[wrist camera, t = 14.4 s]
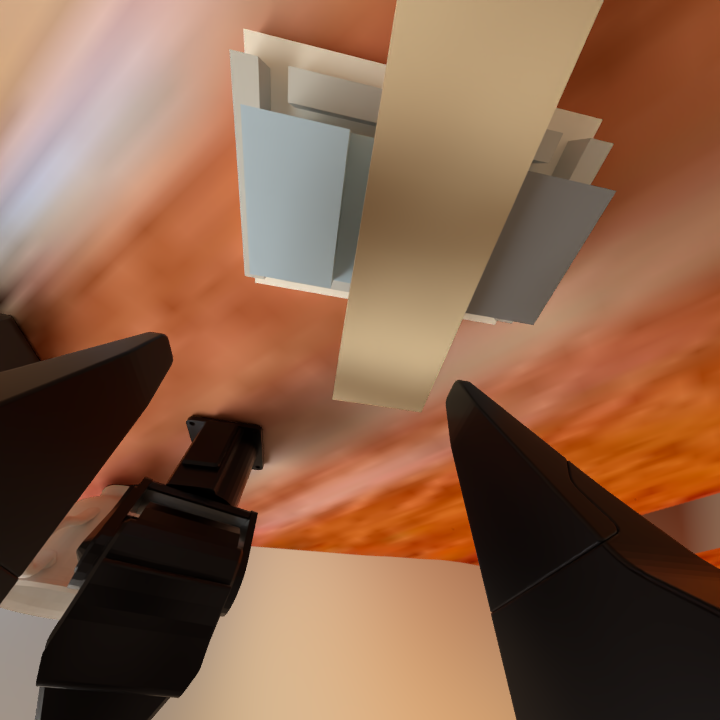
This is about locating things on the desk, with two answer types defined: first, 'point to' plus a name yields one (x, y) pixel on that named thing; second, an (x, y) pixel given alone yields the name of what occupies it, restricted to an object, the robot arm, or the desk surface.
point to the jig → (368, 118)
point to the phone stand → (13, 346)
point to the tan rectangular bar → (446, 177)
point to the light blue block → (345, 205)
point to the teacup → (60, 559)
